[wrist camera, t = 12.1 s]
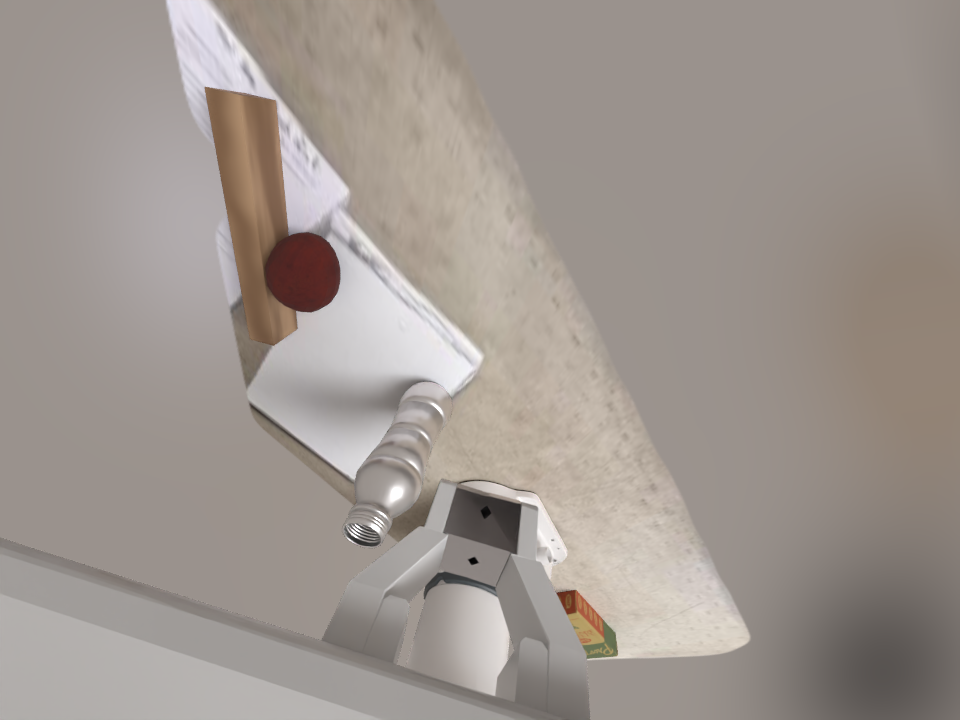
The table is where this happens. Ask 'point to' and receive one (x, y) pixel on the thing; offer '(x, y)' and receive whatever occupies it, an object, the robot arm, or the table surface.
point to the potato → (303, 272)
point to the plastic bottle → (397, 464)
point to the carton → (589, 626)
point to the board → (252, 201)
